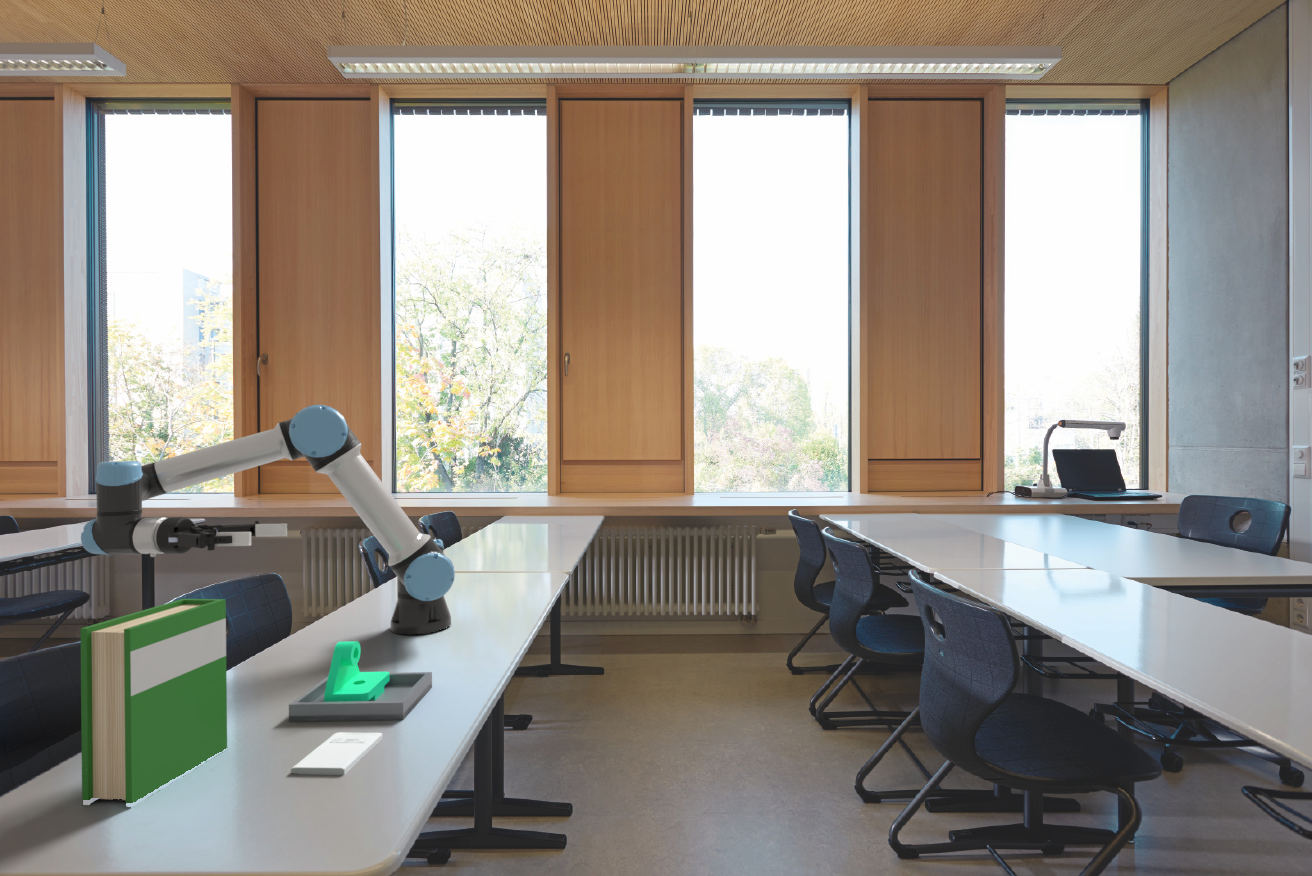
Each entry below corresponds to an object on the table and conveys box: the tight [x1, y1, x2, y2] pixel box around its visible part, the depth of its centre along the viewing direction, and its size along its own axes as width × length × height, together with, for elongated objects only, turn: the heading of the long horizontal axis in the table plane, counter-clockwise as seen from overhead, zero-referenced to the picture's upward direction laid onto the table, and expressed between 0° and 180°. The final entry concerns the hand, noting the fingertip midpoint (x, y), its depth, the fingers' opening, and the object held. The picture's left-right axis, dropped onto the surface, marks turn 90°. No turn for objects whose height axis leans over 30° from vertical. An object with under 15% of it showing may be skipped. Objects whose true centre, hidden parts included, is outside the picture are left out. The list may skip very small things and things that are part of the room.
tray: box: [288, 671, 433, 723], centre depth 129 cm, size 16×20×3 cm
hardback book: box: [80, 598, 228, 803], centre depth 102 cm, size 18×7×24 cm, turn 174°
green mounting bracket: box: [324, 640, 391, 702], centre depth 130 cm, size 12×8×10 cm, turn 1°
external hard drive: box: [290, 731, 384, 776], centre depth 108 cm, size 2×8×12 cm
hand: (269, 534), depth 144 cm, fingers open, 13 cm apart
